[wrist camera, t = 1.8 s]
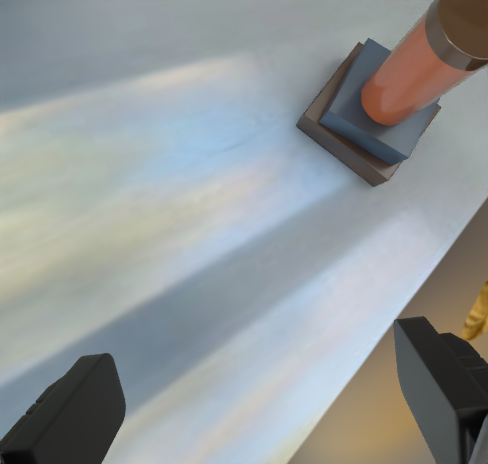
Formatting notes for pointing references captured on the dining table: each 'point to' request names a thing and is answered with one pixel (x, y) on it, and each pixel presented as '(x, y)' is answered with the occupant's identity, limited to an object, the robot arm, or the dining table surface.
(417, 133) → the block stack
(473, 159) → the dining table surface
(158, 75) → the dining table surface
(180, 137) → the dining table surface
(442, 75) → the terracotta canister
